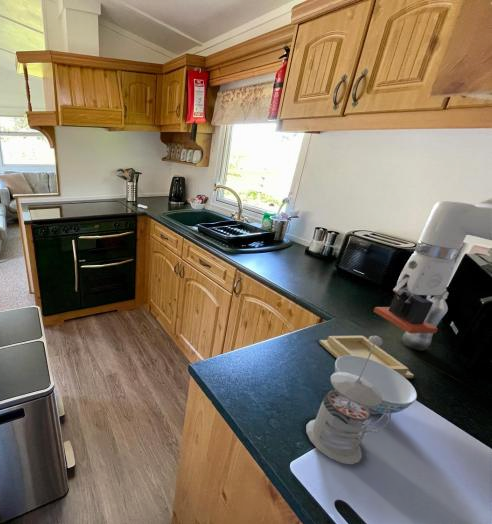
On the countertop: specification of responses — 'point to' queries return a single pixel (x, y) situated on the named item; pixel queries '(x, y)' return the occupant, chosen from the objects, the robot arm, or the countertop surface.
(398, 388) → the chinaware
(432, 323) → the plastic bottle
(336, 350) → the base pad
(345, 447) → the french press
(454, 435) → the countertop surface
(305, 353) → the countertop surface
